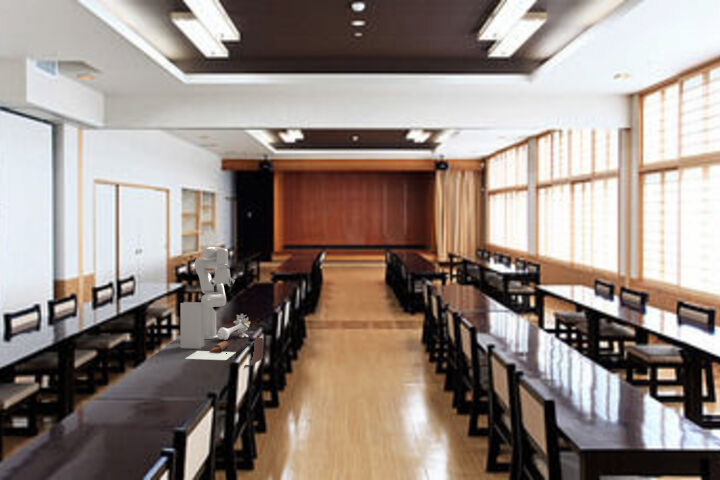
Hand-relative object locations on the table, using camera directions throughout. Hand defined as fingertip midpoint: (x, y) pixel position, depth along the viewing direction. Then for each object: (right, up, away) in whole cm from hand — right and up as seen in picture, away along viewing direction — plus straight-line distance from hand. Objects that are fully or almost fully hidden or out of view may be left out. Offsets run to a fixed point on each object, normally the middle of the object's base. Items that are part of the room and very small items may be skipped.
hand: (222, 292), depth 377 cm
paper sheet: (-1, -38, -25) cm, 45 cm away
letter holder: (+26, -39, -39) cm, 61 cm away
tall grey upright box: (-19, -37, -4) cm, 42 cm away
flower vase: (+3, -36, +25) cm, 44 cm away
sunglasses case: (0, -37, -10) cm, 39 cm away
